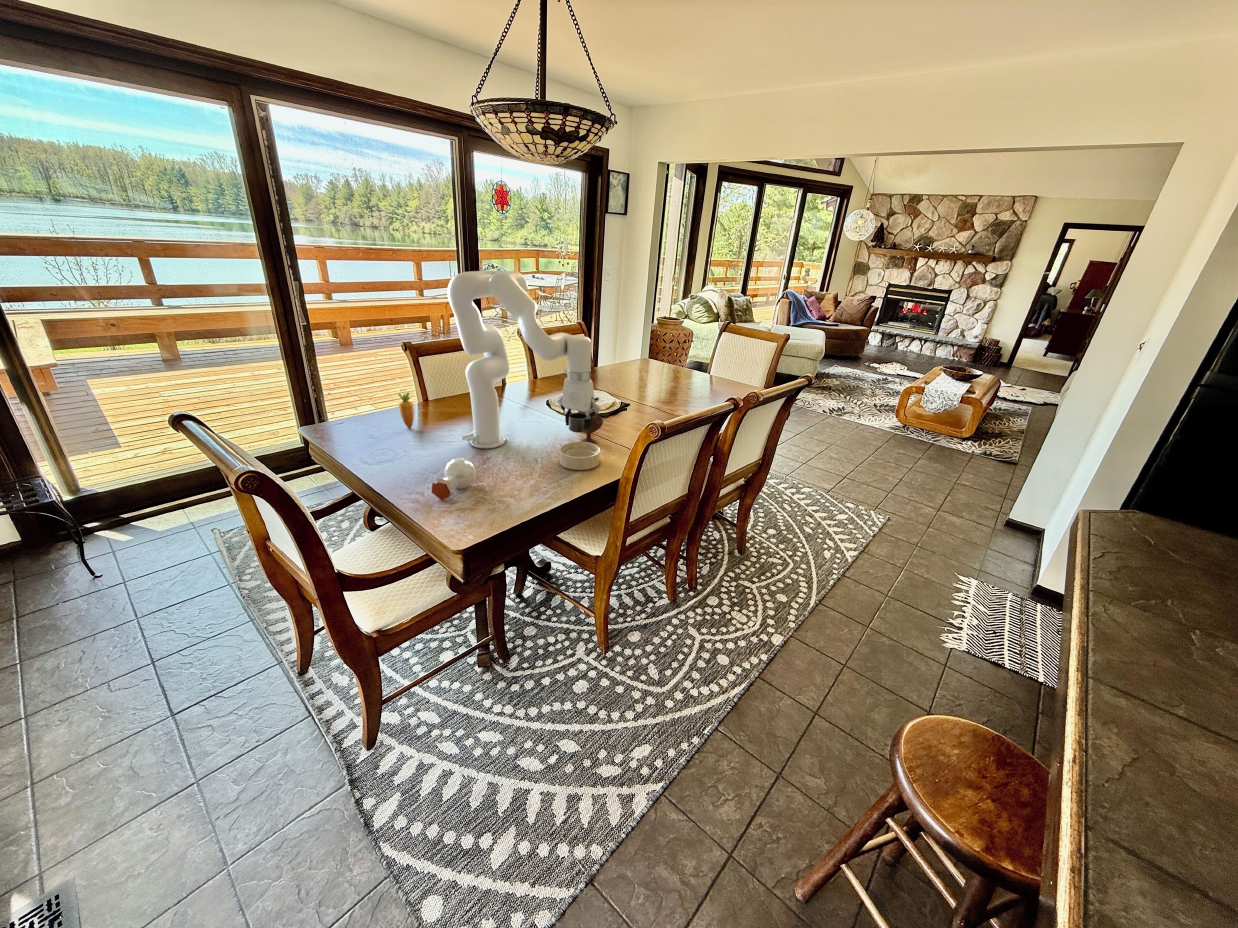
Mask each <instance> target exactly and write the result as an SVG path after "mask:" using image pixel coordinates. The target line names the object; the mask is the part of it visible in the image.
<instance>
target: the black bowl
mask: <svg viewBox="0 0 1238 928" xmlns="http://www.w3.org/2000/svg"><path fill="white" fill-rule="evenodd" d="M586 418H587V416H586V414H585V413H578V412H572V414H570V415H569V425H568V430H569V431H570V432H573V433H578V434H579V433H580V434H581V433H585V431H587V430H586V429H585V419H586Z"/></svg>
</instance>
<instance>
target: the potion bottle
mask: <svg viewBox="0 0 1238 928" xmlns="http://www.w3.org/2000/svg"><path fill="white" fill-rule="evenodd" d="M476 477H477V471H476V467H475V465H474V464H473V462H471V461H470V460H469V459H466V458H464V457H457V458H454V459H452V460H450V461H448V462H447V463H446V465H445V467H444V470H443V478H441V477H435V482H432V483H431V494H433V495H434V496H435V497H437V498H438V499H439V500H440V501H444V500H446V499H449V498H450V497H451V496H453V495H454V494H456V490H455V489H459V490H460V489H465V488H467V487H469V486H470V485H472V484H473V483H474V481H475V479H476Z"/></svg>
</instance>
